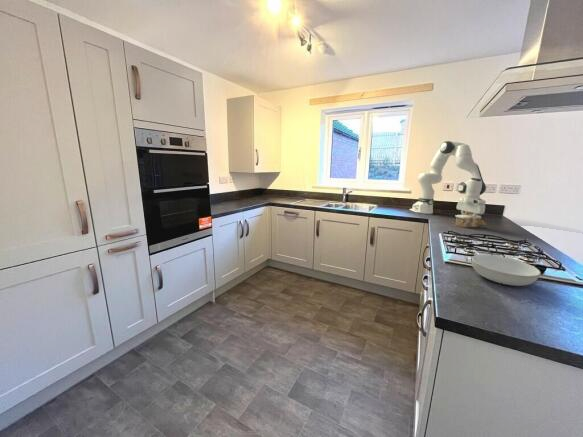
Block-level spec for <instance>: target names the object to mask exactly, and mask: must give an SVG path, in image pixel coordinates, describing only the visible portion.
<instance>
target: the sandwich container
mask: <svg viewBox="0 0 583 437" xmlns="http://www.w3.org/2000/svg"><path fill="white" fill-rule="evenodd" d="M464 214H465V215H474V213H472V212H467V211H465V212H464ZM477 216H479V214H478V215H477ZM478 226H487V227H488V225H487V223H485V220H483V219H482V217H481V218H480V219H479V224H478Z"/></svg>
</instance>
